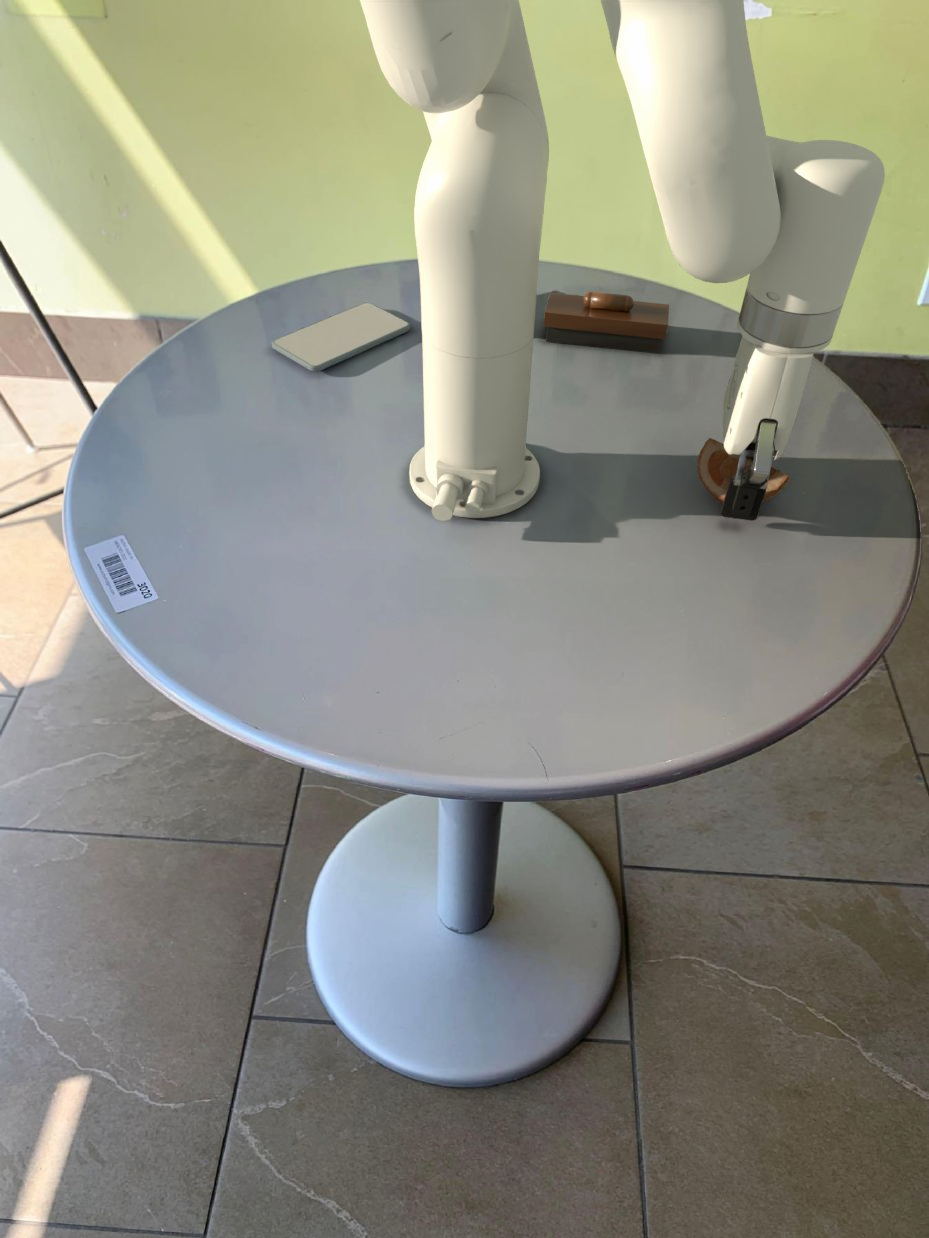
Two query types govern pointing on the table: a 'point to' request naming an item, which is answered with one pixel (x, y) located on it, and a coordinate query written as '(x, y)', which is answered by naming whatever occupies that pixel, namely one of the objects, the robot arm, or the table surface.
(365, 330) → the smartphone
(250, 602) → the table surface
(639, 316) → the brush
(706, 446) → the fruit slice
